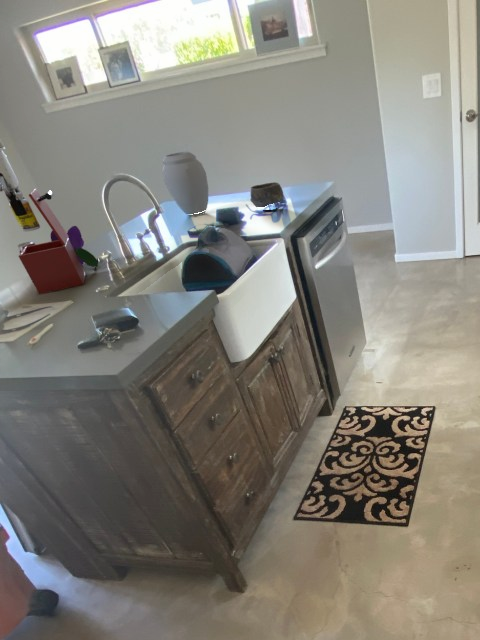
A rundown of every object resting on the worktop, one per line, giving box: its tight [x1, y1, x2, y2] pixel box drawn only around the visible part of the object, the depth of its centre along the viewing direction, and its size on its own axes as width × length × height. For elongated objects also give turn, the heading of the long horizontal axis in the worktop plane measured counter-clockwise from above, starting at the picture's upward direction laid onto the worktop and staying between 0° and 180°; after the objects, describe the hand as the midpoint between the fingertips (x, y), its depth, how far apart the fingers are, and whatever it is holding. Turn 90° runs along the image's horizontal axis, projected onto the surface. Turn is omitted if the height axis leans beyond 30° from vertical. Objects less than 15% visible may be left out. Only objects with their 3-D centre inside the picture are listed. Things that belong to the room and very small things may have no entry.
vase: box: [161, 151, 209, 217], centre depth 241 cm, size 20×20×24 cm
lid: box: [28, 187, 68, 245], centre depth 172 cm, size 15×14×5 cm
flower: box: [50, 225, 99, 269], centre depth 193 cm, size 15×15×14 cm
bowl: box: [249, 181, 285, 208], centre depth 234 cm, size 14×15×10 cm
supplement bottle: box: [8, 192, 41, 232], centre depth 165 cm, size 6×6×10 cm
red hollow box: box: [18, 238, 86, 295], centre depth 180 cm, size 15×14×12 cm
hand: (23, 212), depth 166 cm, fingers closed on supplement bottle, 5 cm apart
